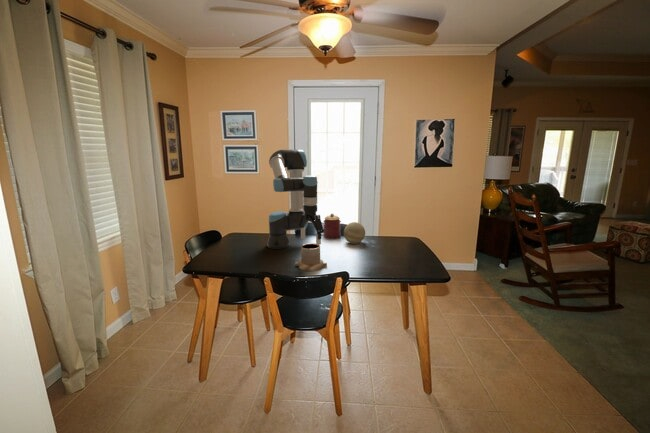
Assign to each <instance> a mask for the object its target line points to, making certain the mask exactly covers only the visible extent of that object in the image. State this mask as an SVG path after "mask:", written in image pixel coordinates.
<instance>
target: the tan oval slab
mask: <svg viewBox="0 0 650 433" xmlns="http://www.w3.org/2000/svg"><path fill="white" fill-rule="evenodd" d="M294 266H295V267H298V269H299V270H301V271H304V272H316V271H320V270H322V269H323V268H324V267H325V268H326V267H328V263H327V262H324V260H323V259H321V258H320V263H318V264H316V265H305V264H303V263H302V262H301V259H300V260H299V261H295V263H294Z"/></svg>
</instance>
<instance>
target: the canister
mask: <svg viewBox="0 0 650 433" xmlns="http://www.w3.org/2000/svg"><path fill="white" fill-rule="evenodd" d="M340 219H341V218H340V217H339V216H337V215H334V213H330V214H329V215H327V216H325V217H324V220H323V229H324V233H323V237H324V238H326V239H339V238H340V237H341V235H342V234H341V222H342V221H341V220H340Z"/></svg>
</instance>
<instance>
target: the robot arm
mask: <svg viewBox="0 0 650 433" xmlns="http://www.w3.org/2000/svg"><path fill="white" fill-rule="evenodd" d="M307 163H308V161H307V155H306V152H305V151H304V150H303V149H279V150H276V151H274V152H273V153H272V154H271V155H270V157H269V160H268V164H269V167H270V168H271V170H272V172H273V175H274V178H273V182H272V183H273V184H272V185H273V186H272V187H273V191H274V192H275V193H276V192H277V193H283V192H284V193H286V192H290V194H289V195H290V209H289V210H288V213H287V211H285V210H284V211H283V210H278V211H275V212H271V213H270V214H269V215H268V226H269V227H268V230H269V232H268V233H269V236H268V240H267V243H266V244H267V247H268V249H271V250H272V249H273V250H280V249H281V250H282V249H286V248H288V247H290V239H289V237H288V235H287V231H296V230H298V231H300V240H305V239H306V229H307V228H308V226H309V222H311V224H312V225H313V227H314V230H315V231H316V234H315V244H316V245H320V246H321V244H322V234H324V225H323V223H322V220H321V214H317V212H318V177H317V176H315V175H311V174H310V175H304V176H303V173H304V171H305V168H306V167H307V165H308V164H307ZM288 174H289V175H288Z"/></svg>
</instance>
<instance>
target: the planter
mask: <svg viewBox="0 0 650 433" xmlns="http://www.w3.org/2000/svg"><path fill="white" fill-rule="evenodd" d="M320 259H321V244H320V245H316V242H315V243H314V242H312V243H311V242H310V243H309V242H308V243H304V244H302V245H301V246H300V260H301V262H302V263H303V264H305V265H316V264H318V263H320Z"/></svg>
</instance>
